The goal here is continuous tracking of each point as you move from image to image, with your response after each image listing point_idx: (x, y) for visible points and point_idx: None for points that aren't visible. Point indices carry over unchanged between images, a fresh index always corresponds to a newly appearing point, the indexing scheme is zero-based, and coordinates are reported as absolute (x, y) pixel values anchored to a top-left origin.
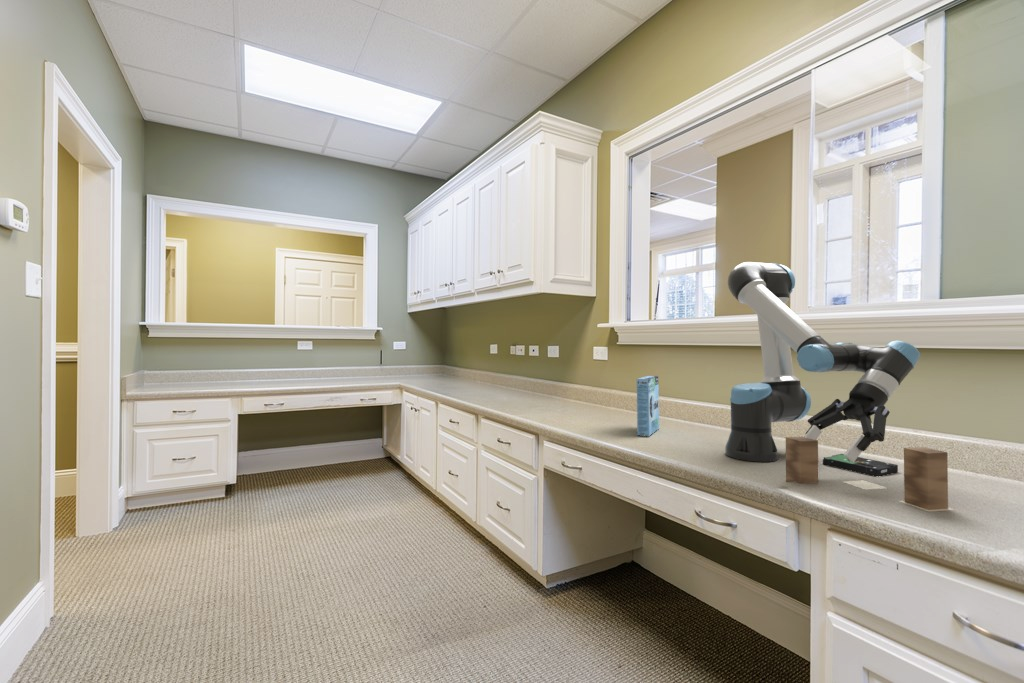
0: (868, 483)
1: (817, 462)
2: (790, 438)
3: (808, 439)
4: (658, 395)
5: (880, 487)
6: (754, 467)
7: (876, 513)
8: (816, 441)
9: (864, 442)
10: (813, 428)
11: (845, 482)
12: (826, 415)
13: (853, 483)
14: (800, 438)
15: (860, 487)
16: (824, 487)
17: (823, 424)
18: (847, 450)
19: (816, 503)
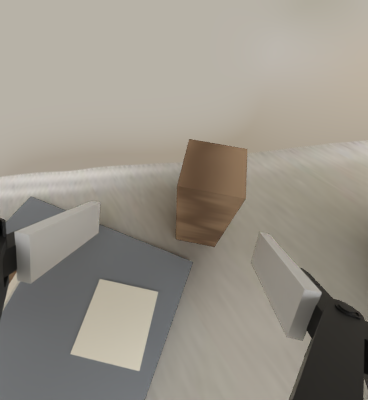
0: (117, 346)
1: (176, 216)
2: (227, 146)
3: (198, 173)
4: None
5: (84, 338)
6: (328, 246)
7: (55, 199)
8: (178, 183)
9: (22, 228)
10: (292, 275)
11: (150, 292)
12: (361, 398)
13: (136, 303)
14: (219, 167)
15: (112, 284)
16: (171, 251)
17: (308, 349)
18: (89, 206)
19: (126, 167)
